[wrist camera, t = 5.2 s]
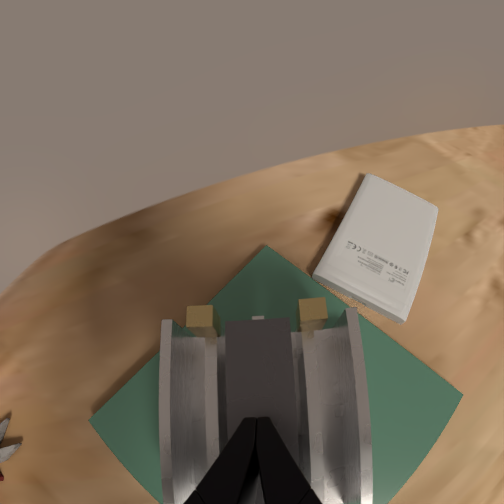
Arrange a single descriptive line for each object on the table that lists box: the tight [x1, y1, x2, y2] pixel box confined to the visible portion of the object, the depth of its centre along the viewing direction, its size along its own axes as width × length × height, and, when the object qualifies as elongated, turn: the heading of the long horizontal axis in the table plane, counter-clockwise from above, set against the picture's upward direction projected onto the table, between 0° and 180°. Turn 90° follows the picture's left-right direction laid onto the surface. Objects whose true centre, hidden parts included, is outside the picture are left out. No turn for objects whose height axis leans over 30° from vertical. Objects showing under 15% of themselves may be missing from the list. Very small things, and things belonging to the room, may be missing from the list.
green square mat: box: [89, 245, 463, 504], centre depth 16 cm, size 20×20×1 cm
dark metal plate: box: [225, 317, 300, 504], centre depth 11 cm, size 11×3×1 cm, turn 2°
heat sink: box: [159, 297, 373, 504], centre depth 13 cm, size 12×12×8 cm
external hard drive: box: [312, 173, 438, 325], centre depth 23 cm, size 2×8×12 cm
